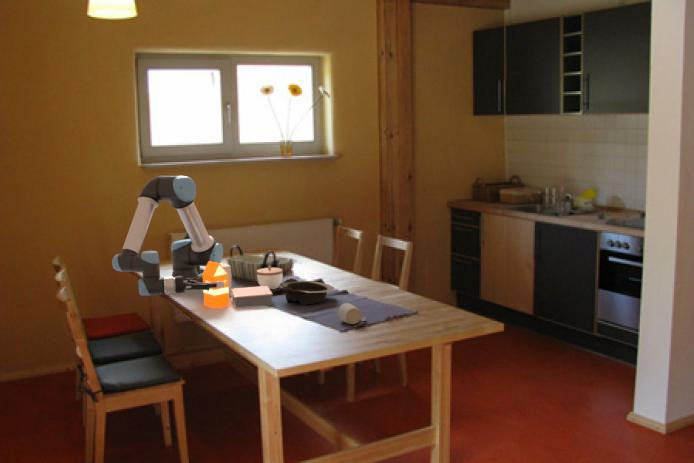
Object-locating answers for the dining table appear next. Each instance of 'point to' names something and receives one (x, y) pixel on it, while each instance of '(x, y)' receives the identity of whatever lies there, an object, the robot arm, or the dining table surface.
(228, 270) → the supplement box
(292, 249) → the dining table surface
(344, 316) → the ceramic mug
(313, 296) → the stone bowl
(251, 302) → the podium
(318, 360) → the dining table surface
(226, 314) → the dining table surface
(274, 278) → the lidded bowl
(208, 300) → the orange juice
